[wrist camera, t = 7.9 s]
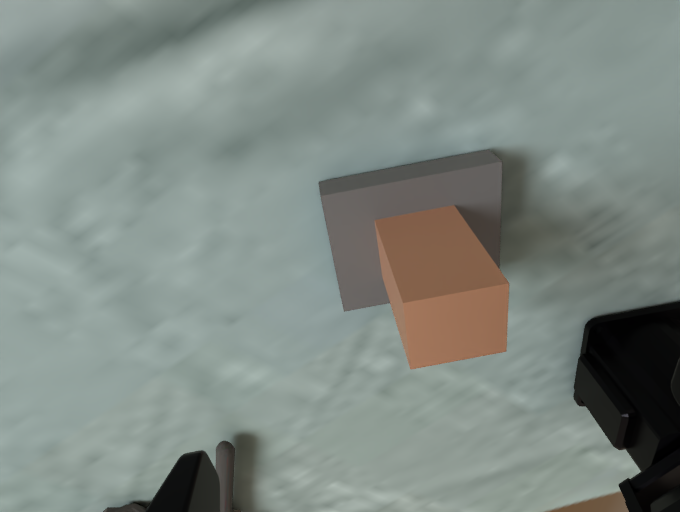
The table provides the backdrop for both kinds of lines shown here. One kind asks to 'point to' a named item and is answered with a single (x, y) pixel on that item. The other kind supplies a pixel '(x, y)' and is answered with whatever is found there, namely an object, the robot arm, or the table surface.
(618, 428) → the robot arm
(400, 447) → the table surface
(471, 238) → the stub
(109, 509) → the walkie-talkie
